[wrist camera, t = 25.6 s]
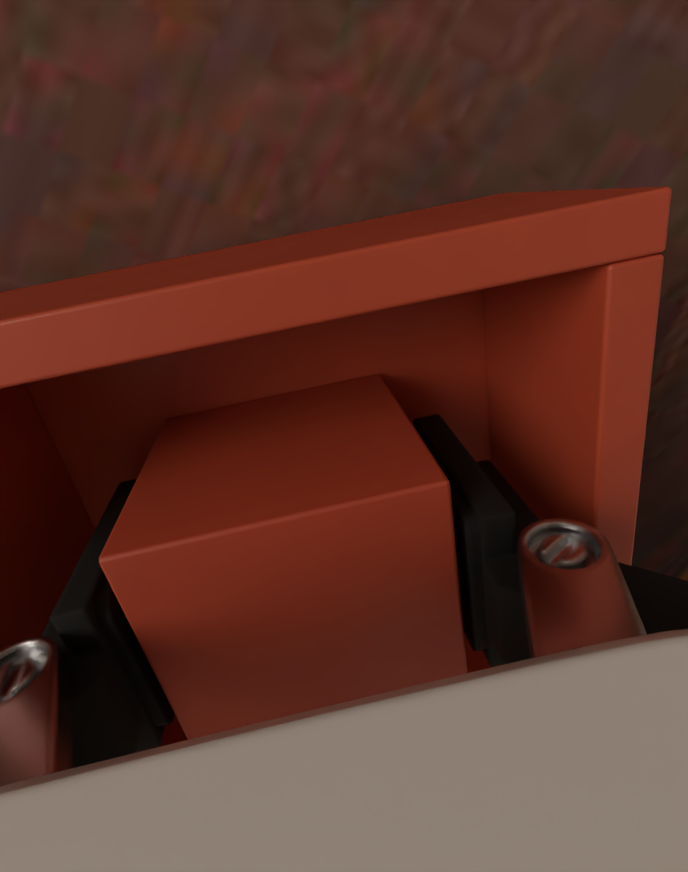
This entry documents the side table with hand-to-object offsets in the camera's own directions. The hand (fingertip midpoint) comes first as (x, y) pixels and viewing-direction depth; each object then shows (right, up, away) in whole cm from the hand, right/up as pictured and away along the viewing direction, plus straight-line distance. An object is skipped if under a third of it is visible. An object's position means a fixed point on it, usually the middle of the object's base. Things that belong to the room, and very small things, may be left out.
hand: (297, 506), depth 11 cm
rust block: (0, 0, +1) cm, 1 cm away
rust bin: (0, 0, +2) cm, 2 cm away
